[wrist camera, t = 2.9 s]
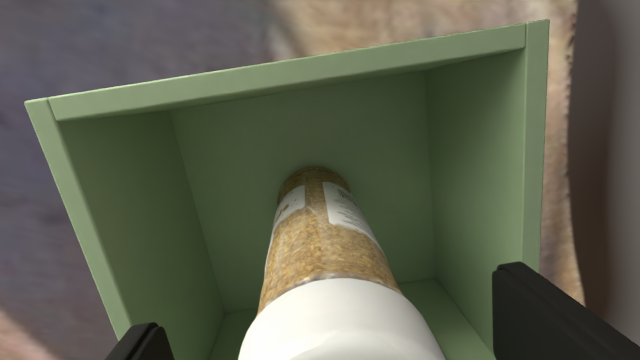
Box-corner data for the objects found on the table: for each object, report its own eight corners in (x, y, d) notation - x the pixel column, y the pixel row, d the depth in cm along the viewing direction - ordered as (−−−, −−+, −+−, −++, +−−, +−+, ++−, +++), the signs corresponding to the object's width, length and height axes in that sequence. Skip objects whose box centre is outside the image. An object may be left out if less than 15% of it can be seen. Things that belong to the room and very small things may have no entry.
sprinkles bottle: (266, 178, 18) (174, 390, 5) (341, 154, 18) (445, 305, 5) (292, 246, 19) (272, 559, 6) (362, 223, 19) (492, 494, 6)
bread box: (158, 99, 17) (22, 100, 9) (430, 56, 17) (550, 18, 9) (220, 315, 21) (164, 461, 13) (442, 278, 21) (534, 397, 13)
